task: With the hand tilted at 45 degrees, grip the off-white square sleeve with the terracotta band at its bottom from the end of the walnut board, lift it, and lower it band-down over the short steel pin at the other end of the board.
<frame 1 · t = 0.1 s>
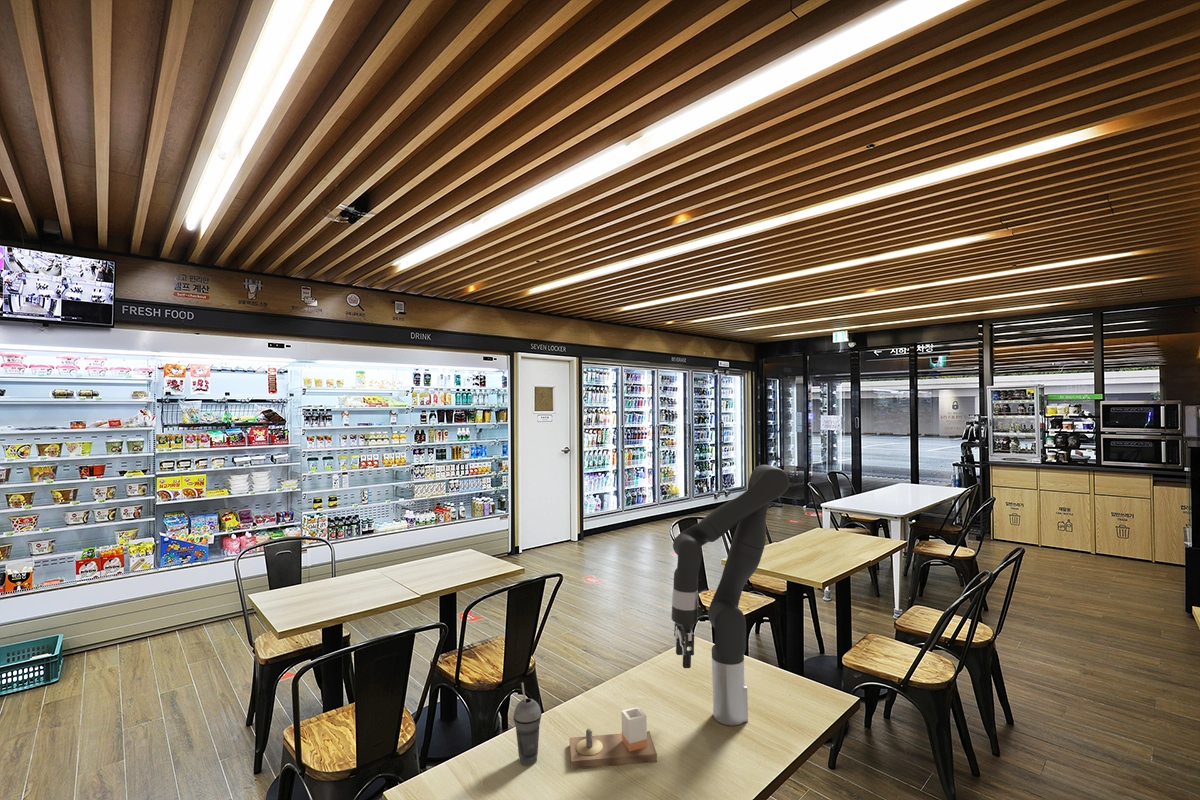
hand: (682, 660, 159), 17 cm above the table, tool pointing down, fingers open, 8 cm apart
sleeve: (634, 743, 145), point 2 cm above the table, touching pin board
pin board: (612, 753, 145), on the table
beverage cup: (528, 761, 143), on the table
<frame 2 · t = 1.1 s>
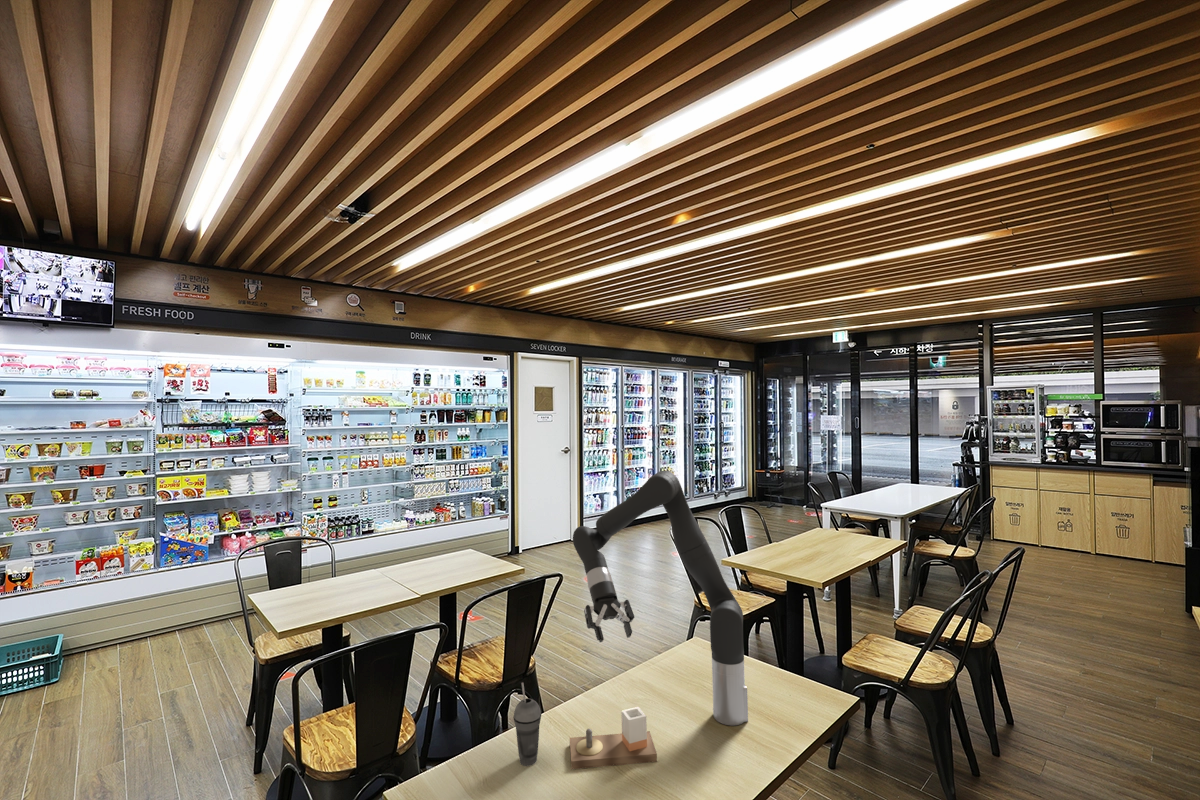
hand: (615, 638, 156), 25 cm above the table, tool tilted 45°, fingers open, 8 cm apart
nothing on the table moved.
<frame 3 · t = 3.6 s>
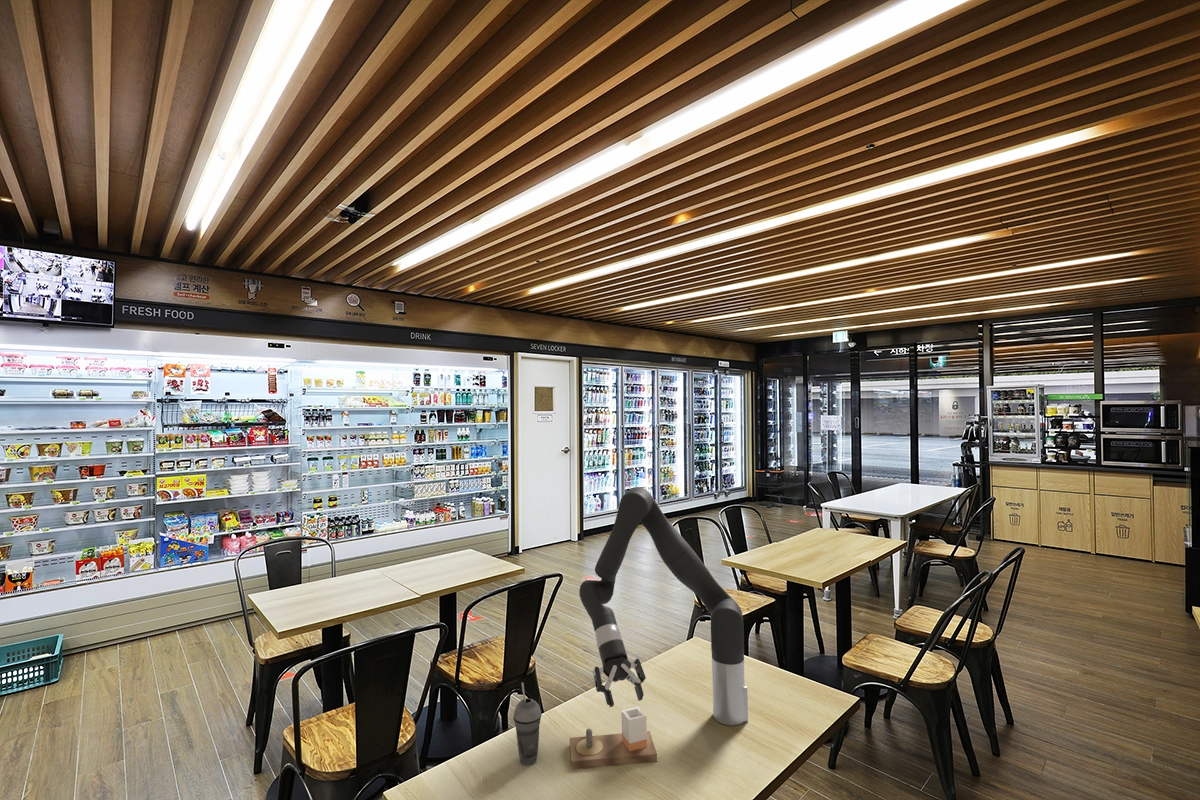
hand: (626, 702, 150), 10 cm above the table, tool tilted 45°, fingers open, 8 cm apart
nothing on the table moved.
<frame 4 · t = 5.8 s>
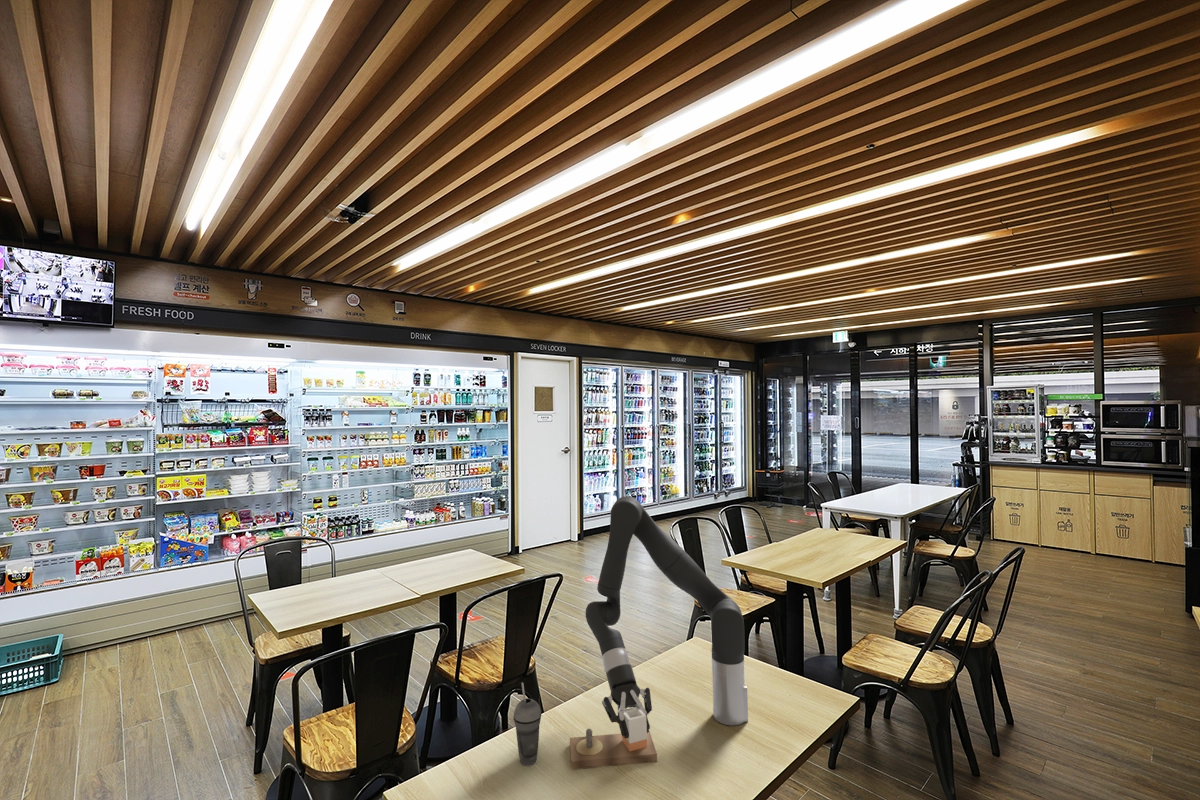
hand: (637, 734, 144), 5 cm above the table, tool tilted 45°, fingers closed on sleeve, 5 cm apart
sleeve: (634, 743, 145), point 2 cm above the table, touching gripper, pin board
everything else where it was.
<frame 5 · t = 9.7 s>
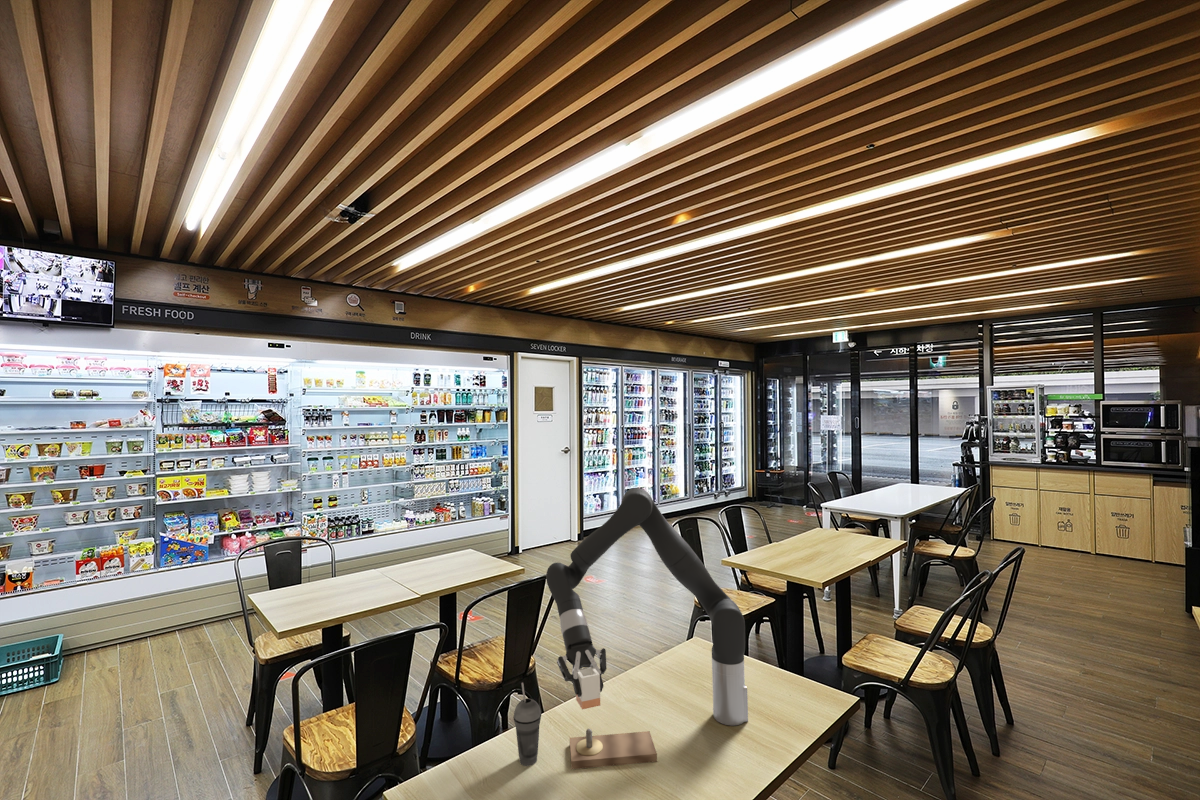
hand: (590, 693, 143), 17 cm above the table, tool tilted 45°, fingers closed on sleeve, 5 cm apart
sleeve: (588, 702, 144), point 14 cm above the table, touching gripper
everything else where it was.
when the fingers open (6 cm above the table, at t = 13.1 s): sleeve stays where it is, resting on pin board.
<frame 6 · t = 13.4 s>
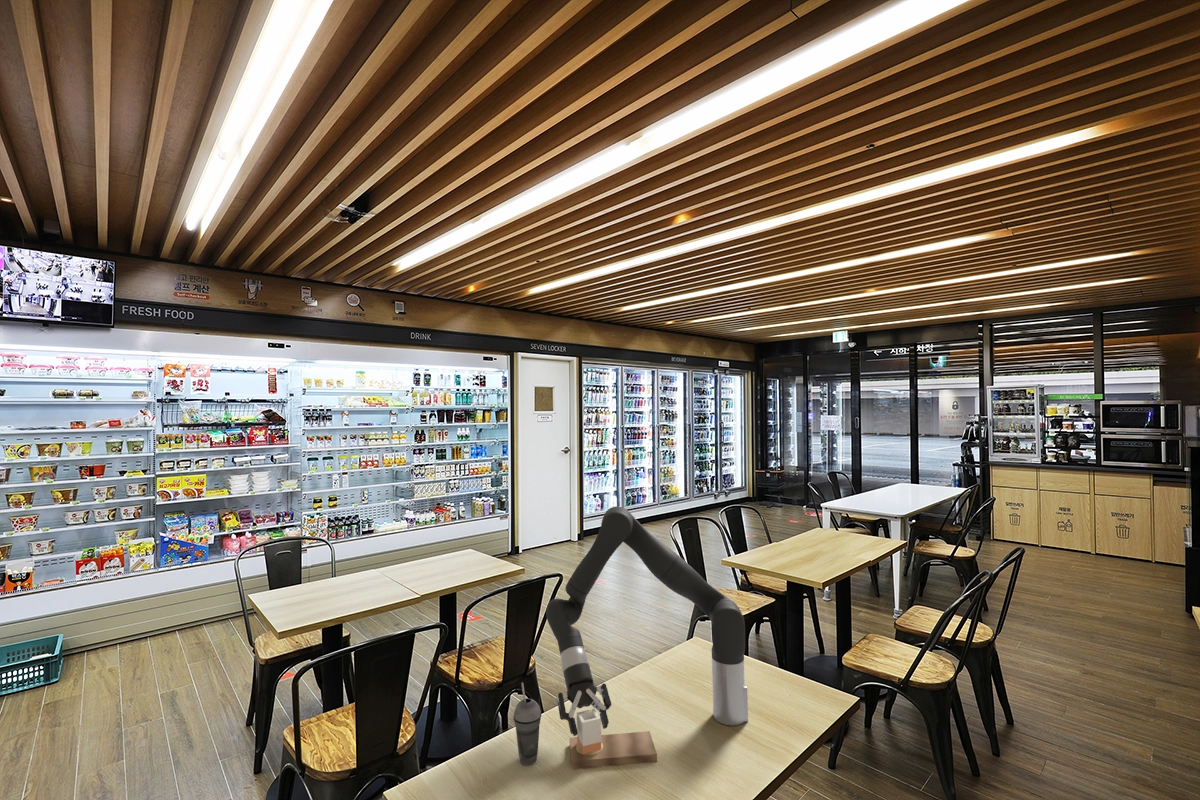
hand: (590, 731, 143), 7 cm above the table, tool tilted 45°, fingers open, 8 cm apart
sleeve: (589, 746, 144), point 2 cm above the table, touching pin board
everything else where it was.
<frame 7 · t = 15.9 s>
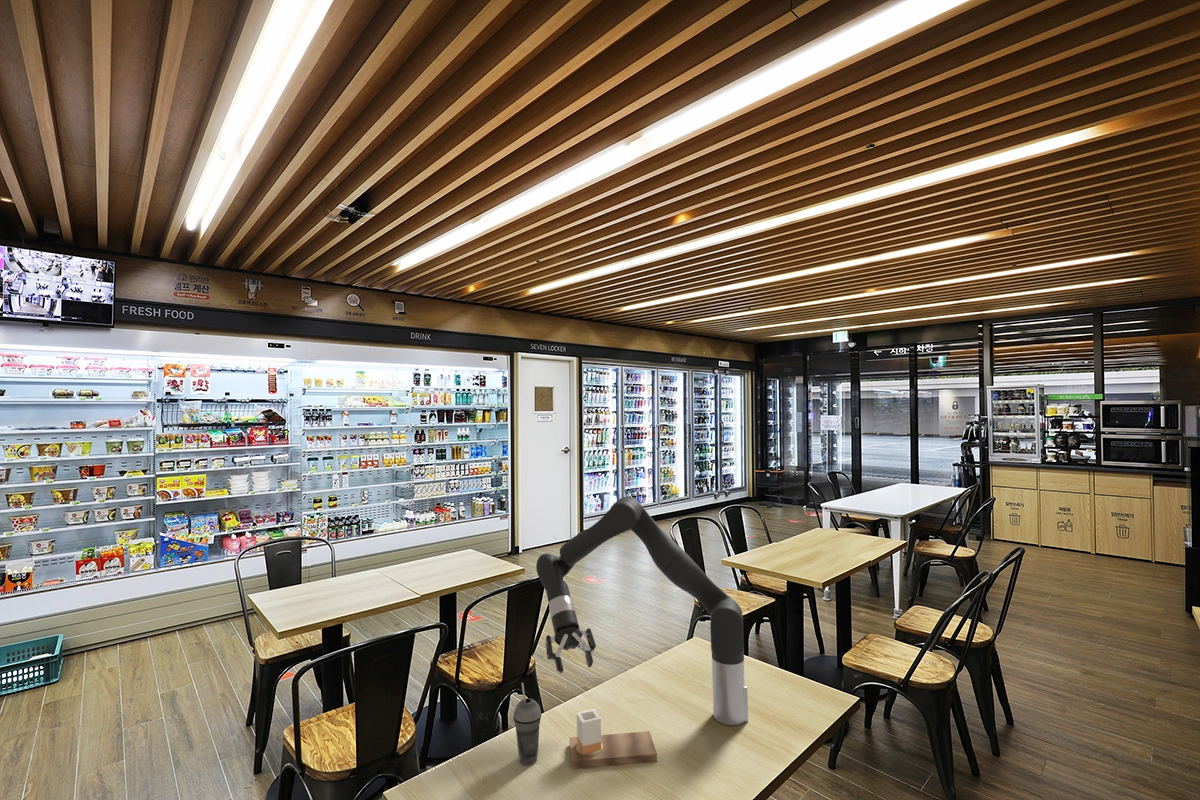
hand: (576, 669, 156), 17 cm above the table, tool tilted 45°, fingers open, 8 cm apart
nothing on the table moved.
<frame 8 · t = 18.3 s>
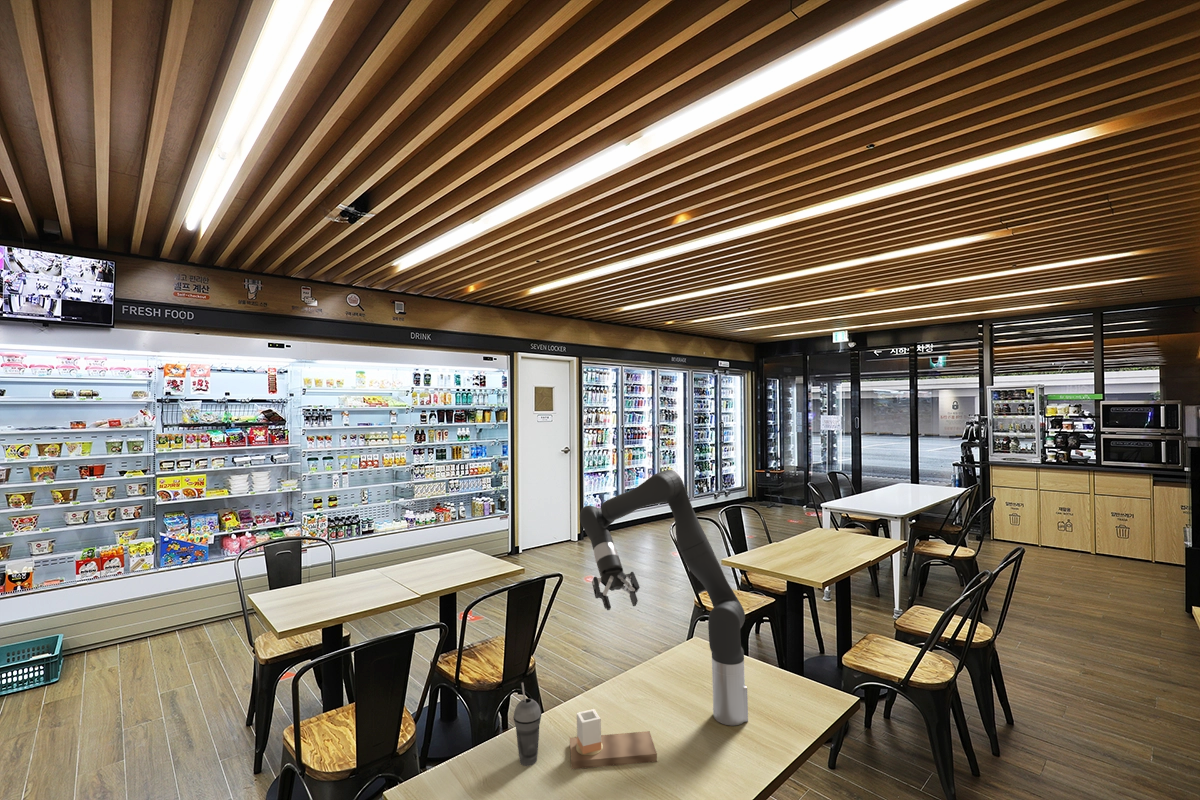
hand: (622, 607, 166), 31 cm above the table, tool tilted 45°, fingers open, 8 cm apart
nothing on the table moved.
at the end: sleeve 0.1 cm from the target spot on the pin board, point 2.3 cm above the pin board's base; sleeve tilted 0°; the gripper is holding nothing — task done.
